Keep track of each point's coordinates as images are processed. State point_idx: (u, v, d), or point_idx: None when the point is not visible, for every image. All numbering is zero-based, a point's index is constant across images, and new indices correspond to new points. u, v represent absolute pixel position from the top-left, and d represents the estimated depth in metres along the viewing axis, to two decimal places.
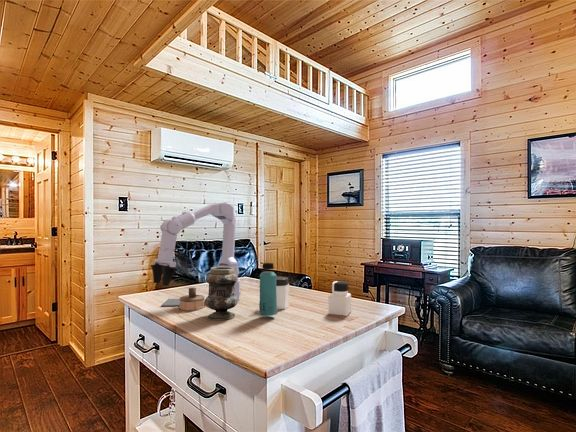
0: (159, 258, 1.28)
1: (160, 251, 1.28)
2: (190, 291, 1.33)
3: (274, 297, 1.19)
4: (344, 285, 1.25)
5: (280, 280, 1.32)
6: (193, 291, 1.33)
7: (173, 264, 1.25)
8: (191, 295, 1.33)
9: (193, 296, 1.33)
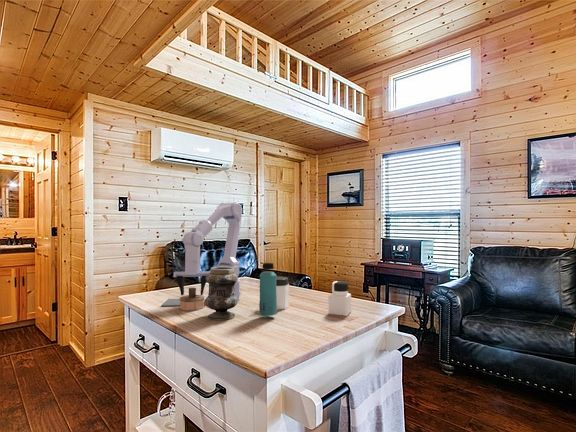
0: (193, 271, 1.32)
1: (192, 264, 1.32)
2: (190, 291, 1.33)
3: (274, 297, 1.19)
4: (344, 285, 1.25)
5: (280, 280, 1.32)
6: (193, 291, 1.33)
7: None
8: (191, 295, 1.33)
9: (193, 296, 1.33)
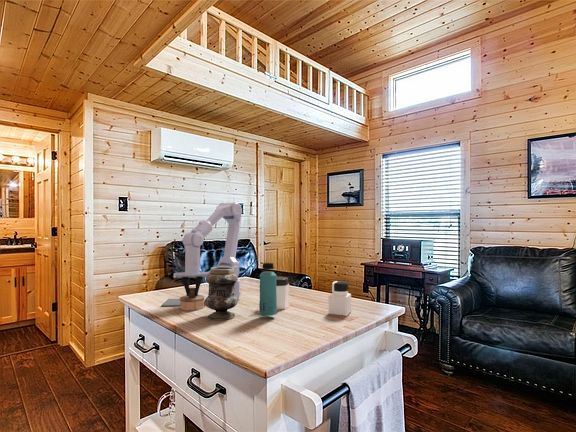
0: (193, 272, 1.32)
1: (192, 265, 1.32)
2: (190, 291, 1.33)
3: (274, 297, 1.19)
4: (344, 285, 1.25)
5: (280, 280, 1.32)
6: (193, 291, 1.33)
7: None
8: (191, 295, 1.33)
9: (193, 296, 1.33)
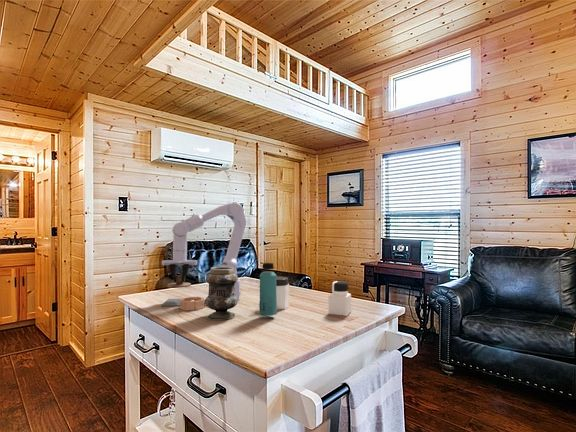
0: (180, 259, 1.40)
1: (179, 253, 1.40)
2: (177, 278, 1.41)
3: (274, 297, 1.19)
4: (344, 285, 1.25)
5: (280, 280, 1.32)
6: (180, 278, 1.41)
7: (196, 262, 1.43)
8: (179, 282, 1.41)
9: (180, 283, 1.41)
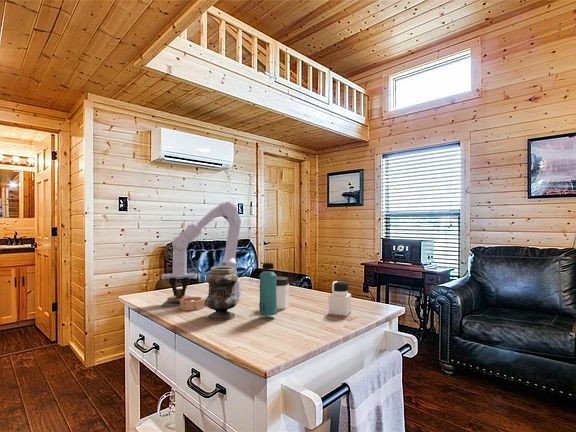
0: (179, 273, 1.40)
1: (179, 267, 1.40)
2: (177, 292, 1.41)
3: (274, 297, 1.19)
4: (344, 285, 1.25)
5: (280, 280, 1.32)
6: (180, 292, 1.41)
7: (196, 276, 1.43)
8: (178, 296, 1.41)
9: (180, 297, 1.41)
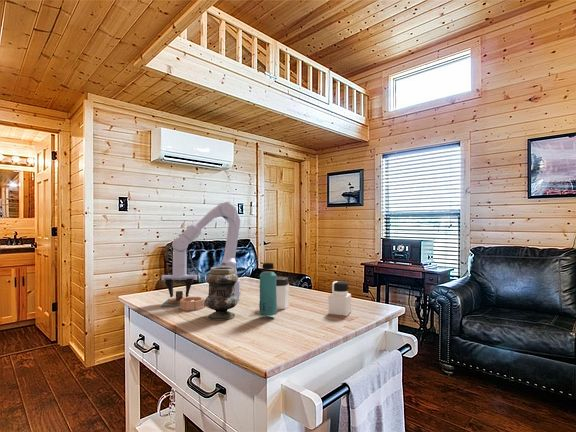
0: (179, 274, 1.40)
1: (179, 268, 1.40)
2: (177, 294, 1.41)
3: (274, 297, 1.19)
4: (344, 285, 1.25)
5: (280, 280, 1.32)
6: (180, 294, 1.41)
7: (196, 277, 1.43)
8: (178, 298, 1.41)
9: (180, 299, 1.41)
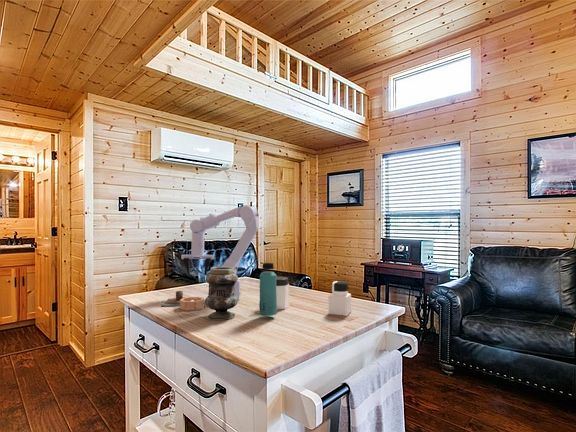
0: (198, 254, 1.52)
1: (198, 248, 1.52)
2: (177, 294, 1.41)
3: (274, 297, 1.19)
4: (344, 285, 1.25)
5: (280, 280, 1.32)
6: (180, 294, 1.41)
7: (213, 257, 1.55)
8: (178, 298, 1.41)
9: (180, 299, 1.41)
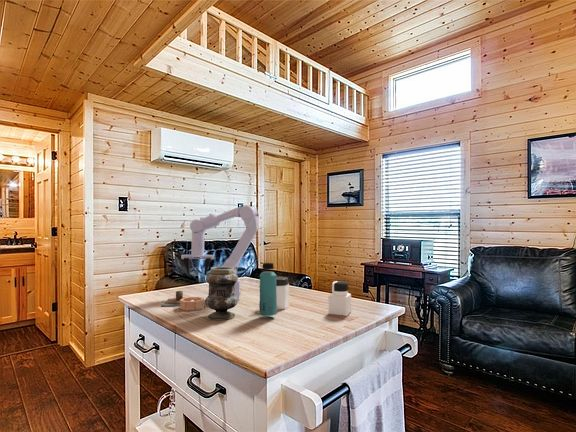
0: (198, 254, 1.52)
1: (198, 248, 1.52)
2: (177, 294, 1.41)
3: (274, 297, 1.19)
4: (344, 285, 1.25)
5: (280, 280, 1.32)
6: (180, 294, 1.41)
7: (213, 257, 1.55)
8: (178, 298, 1.41)
9: (180, 299, 1.41)
